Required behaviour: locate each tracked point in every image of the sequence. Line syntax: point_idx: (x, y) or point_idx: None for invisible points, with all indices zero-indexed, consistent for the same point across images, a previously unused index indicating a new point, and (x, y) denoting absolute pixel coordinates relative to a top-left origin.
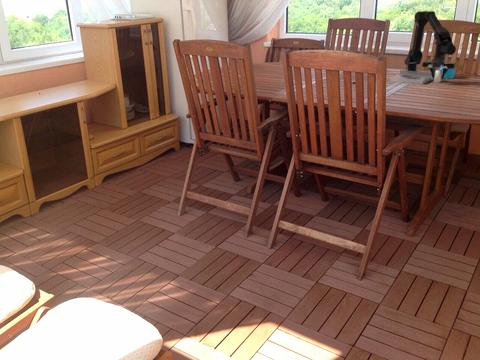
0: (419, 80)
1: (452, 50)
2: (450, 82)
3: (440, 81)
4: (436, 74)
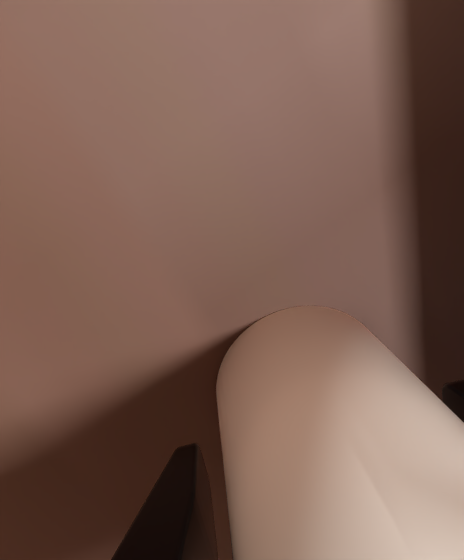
0: None
1: None
2: (13, 498)
3: (218, 397)
4: (439, 472)
